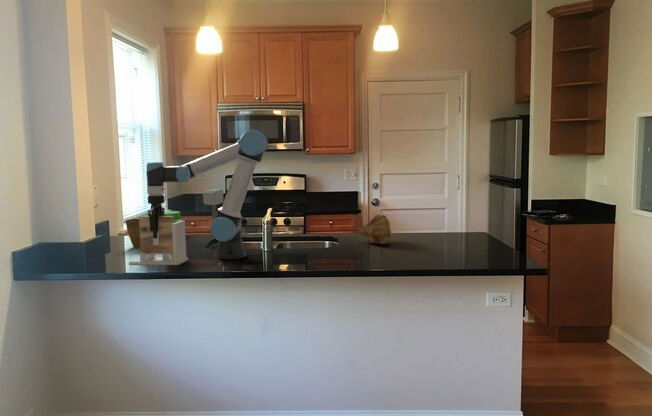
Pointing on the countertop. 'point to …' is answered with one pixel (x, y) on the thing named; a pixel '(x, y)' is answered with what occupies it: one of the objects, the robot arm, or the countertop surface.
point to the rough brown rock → (377, 230)
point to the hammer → (213, 199)
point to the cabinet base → (176, 250)
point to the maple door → (164, 235)
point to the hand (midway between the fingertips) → (158, 244)
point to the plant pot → (133, 231)
